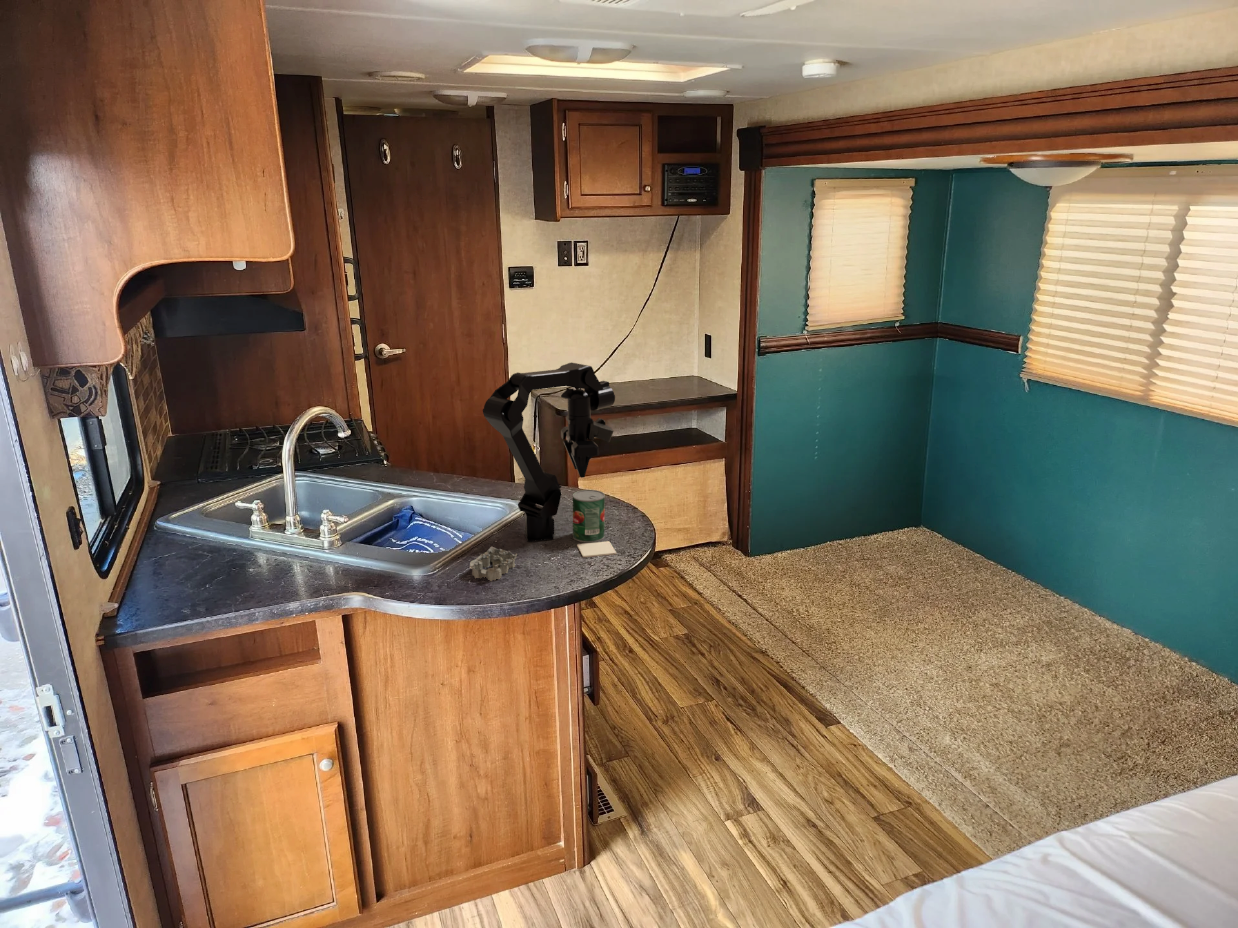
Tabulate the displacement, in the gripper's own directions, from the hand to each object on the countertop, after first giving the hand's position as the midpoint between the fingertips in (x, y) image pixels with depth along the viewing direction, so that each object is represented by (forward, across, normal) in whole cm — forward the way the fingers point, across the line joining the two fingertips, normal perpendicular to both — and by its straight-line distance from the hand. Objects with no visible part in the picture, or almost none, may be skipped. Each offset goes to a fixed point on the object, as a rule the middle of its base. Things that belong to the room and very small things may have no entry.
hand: (579, 473), depth 212 cm
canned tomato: (+13, -11, 0) cm, 17 cm away
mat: (+13, -19, 0) cm, 23 cm away
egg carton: (+14, -25, +25) cm, 38 cm away
